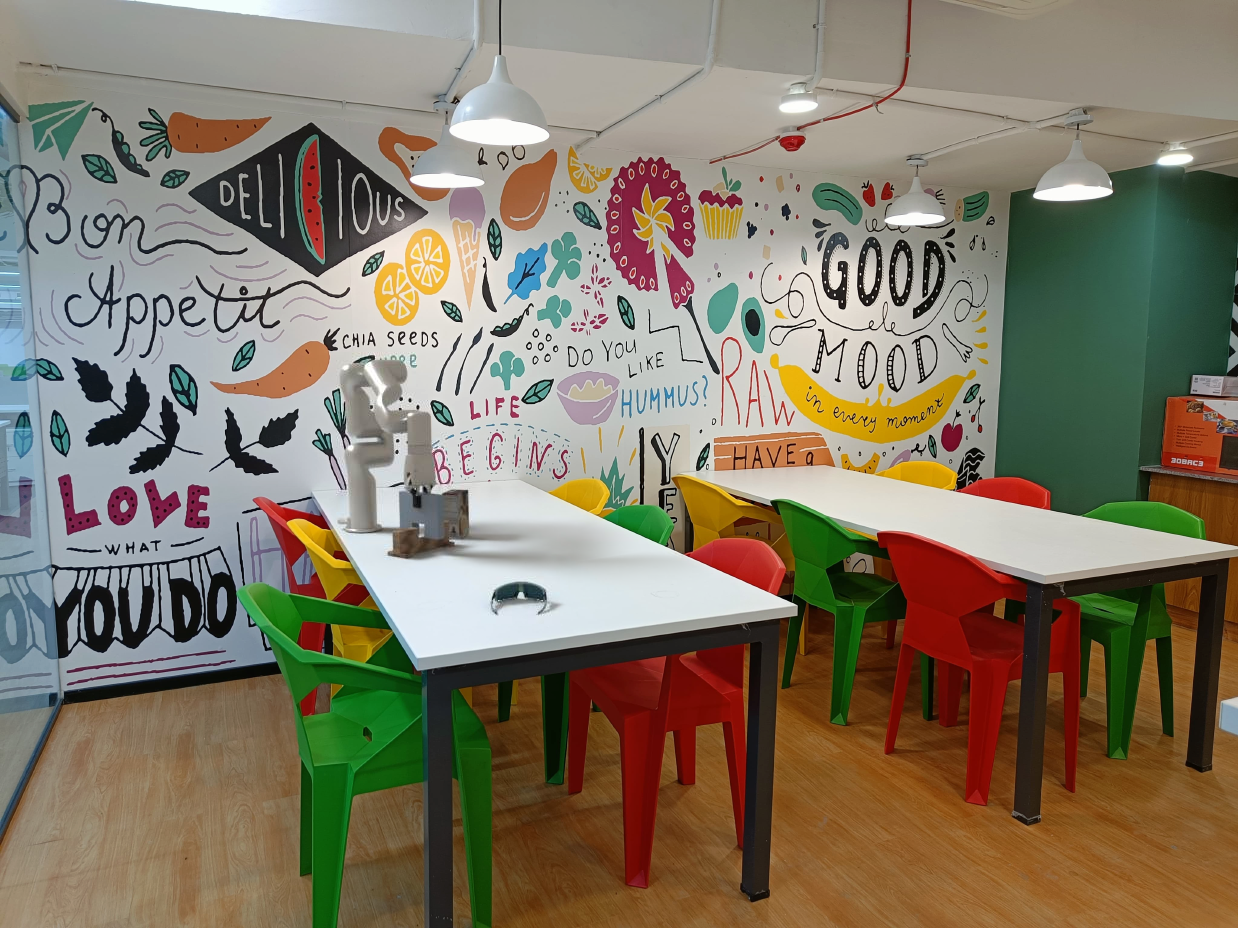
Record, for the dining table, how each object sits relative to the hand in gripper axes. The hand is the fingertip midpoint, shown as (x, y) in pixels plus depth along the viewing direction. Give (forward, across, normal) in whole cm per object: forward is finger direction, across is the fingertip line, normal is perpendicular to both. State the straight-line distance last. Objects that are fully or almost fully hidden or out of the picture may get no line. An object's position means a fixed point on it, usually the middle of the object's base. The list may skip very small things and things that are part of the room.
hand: (421, 506), depth 275 cm
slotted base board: (+14, 0, 0) cm, 15 cm away
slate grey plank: (+10, 0, 0) cm, 10 cm away
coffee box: (+15, -22, -6) cm, 27 cm away
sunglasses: (+16, +30, +65) cm, 73 cm away
